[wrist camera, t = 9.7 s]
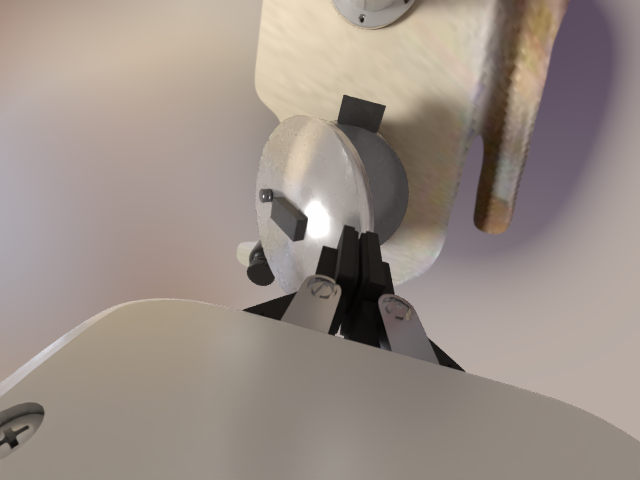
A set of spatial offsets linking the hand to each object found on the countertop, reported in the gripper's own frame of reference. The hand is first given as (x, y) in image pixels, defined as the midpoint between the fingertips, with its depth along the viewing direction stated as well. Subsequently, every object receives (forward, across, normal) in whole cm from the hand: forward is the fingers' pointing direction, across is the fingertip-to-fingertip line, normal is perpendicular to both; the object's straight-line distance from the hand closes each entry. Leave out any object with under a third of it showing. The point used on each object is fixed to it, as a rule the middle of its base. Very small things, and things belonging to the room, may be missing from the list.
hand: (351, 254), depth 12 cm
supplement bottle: (+33, +10, +21) cm, 40 cm away
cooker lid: (+13, +4, +5) cm, 15 cm away
